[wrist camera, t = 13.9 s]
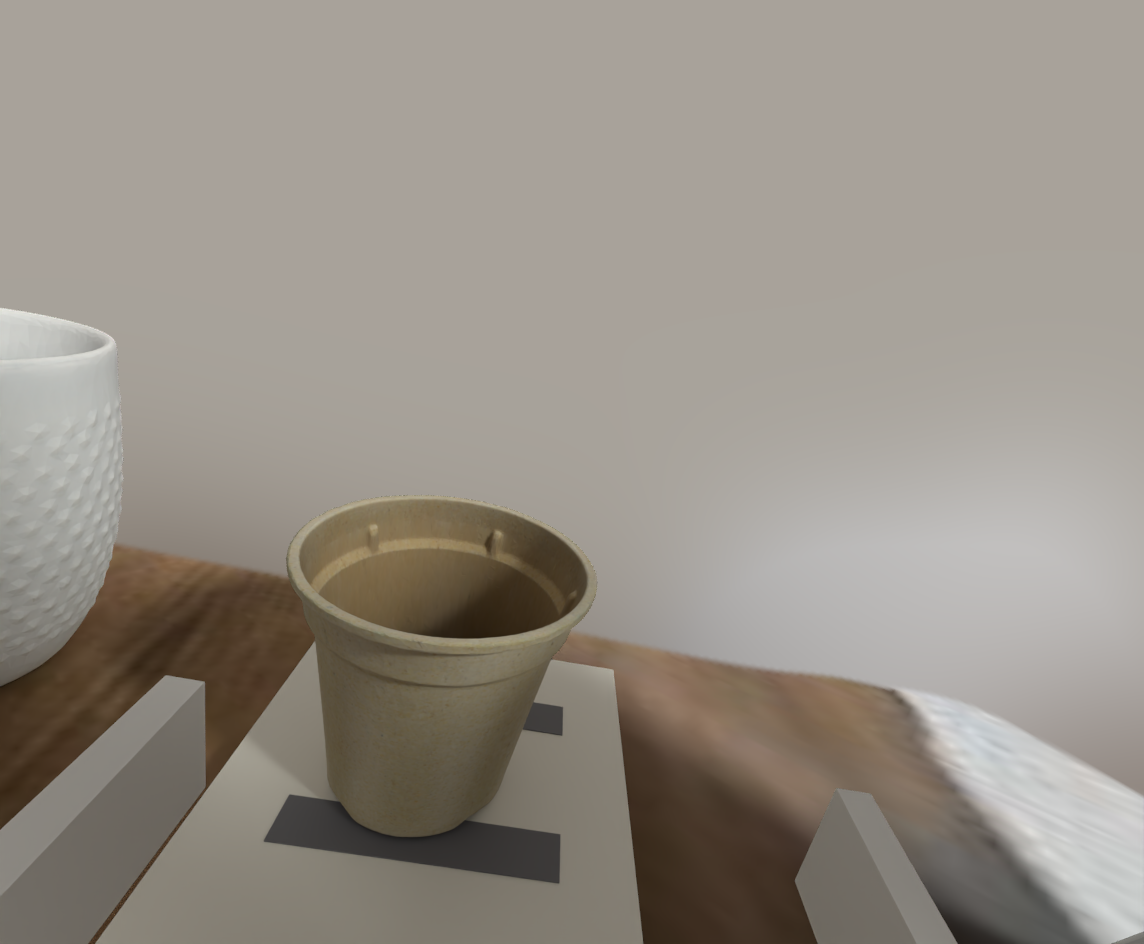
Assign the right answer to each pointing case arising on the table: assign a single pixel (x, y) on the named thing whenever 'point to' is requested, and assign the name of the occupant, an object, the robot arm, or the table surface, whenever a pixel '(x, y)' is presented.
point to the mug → (54, 481)
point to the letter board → (403, 842)
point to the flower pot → (431, 647)
